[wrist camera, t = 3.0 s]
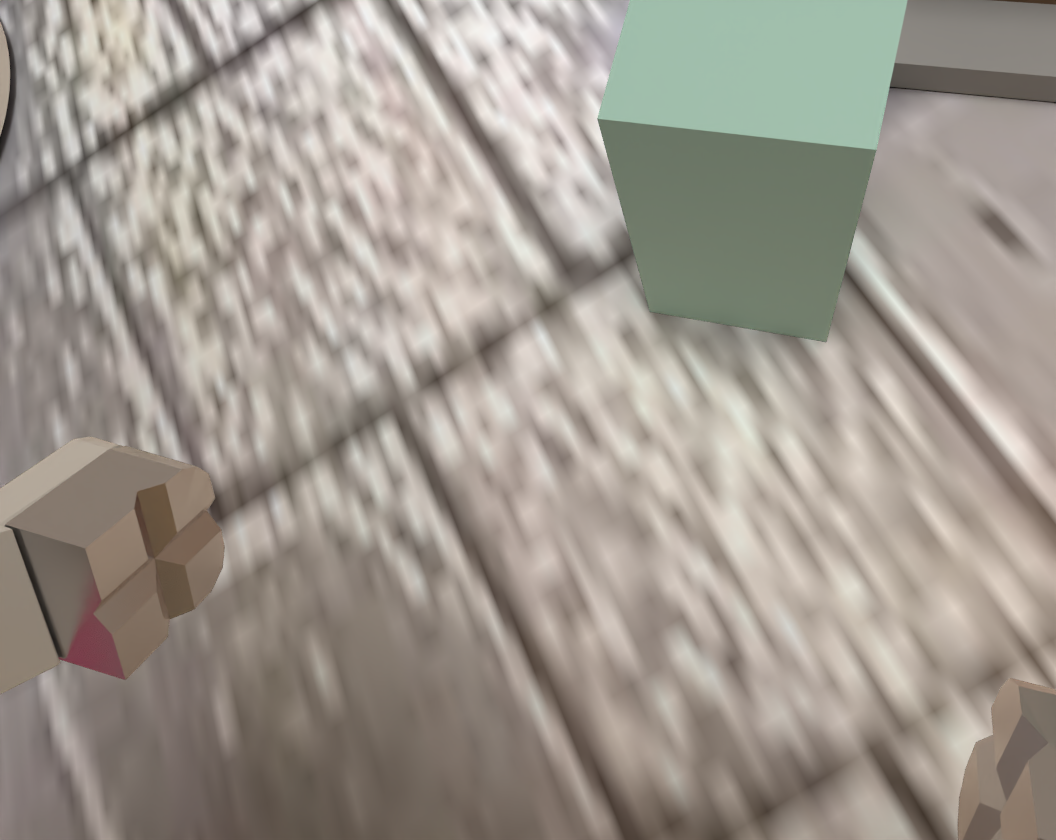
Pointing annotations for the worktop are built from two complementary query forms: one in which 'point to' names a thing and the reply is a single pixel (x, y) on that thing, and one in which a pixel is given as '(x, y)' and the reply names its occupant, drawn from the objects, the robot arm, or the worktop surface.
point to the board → (978, 48)
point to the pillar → (747, 151)
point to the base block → (1032, 1)
